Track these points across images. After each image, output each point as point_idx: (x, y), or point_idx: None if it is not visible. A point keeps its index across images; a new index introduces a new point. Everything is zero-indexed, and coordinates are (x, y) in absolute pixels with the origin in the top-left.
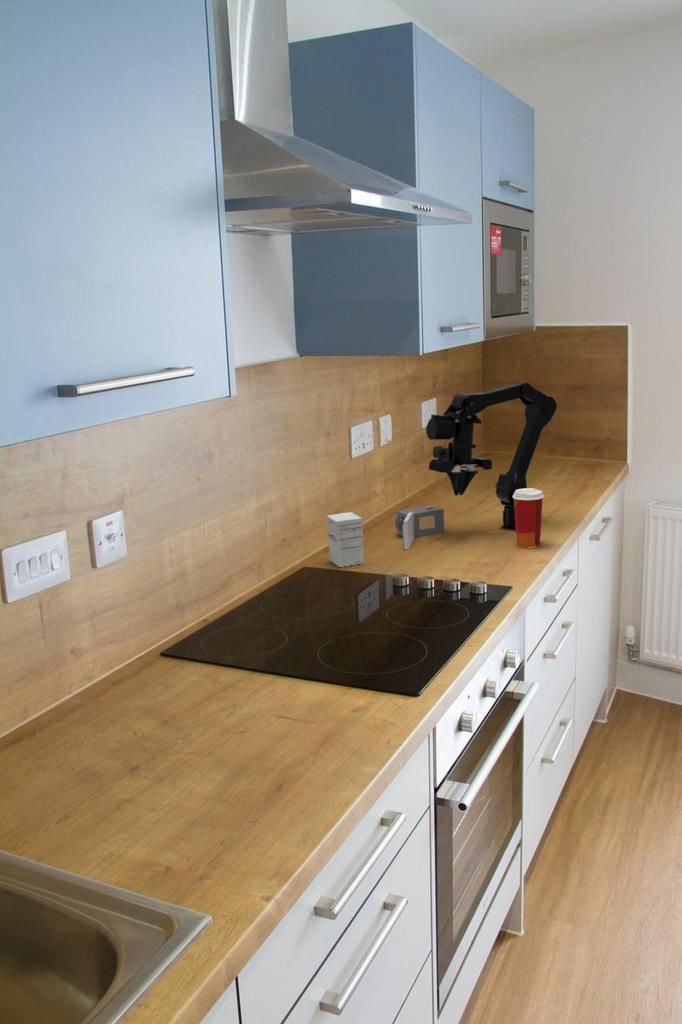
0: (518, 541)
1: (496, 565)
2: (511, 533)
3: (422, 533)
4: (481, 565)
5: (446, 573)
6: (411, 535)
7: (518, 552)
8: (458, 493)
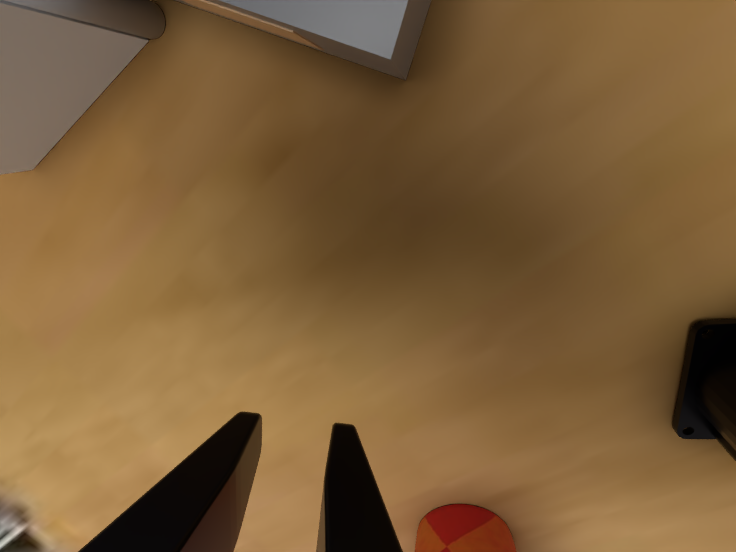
0: (418, 543)
1: None
2: (608, 412)
3: (232, 19)
4: None
5: (25, 471)
6: (63, 87)
7: None
8: (248, 485)
